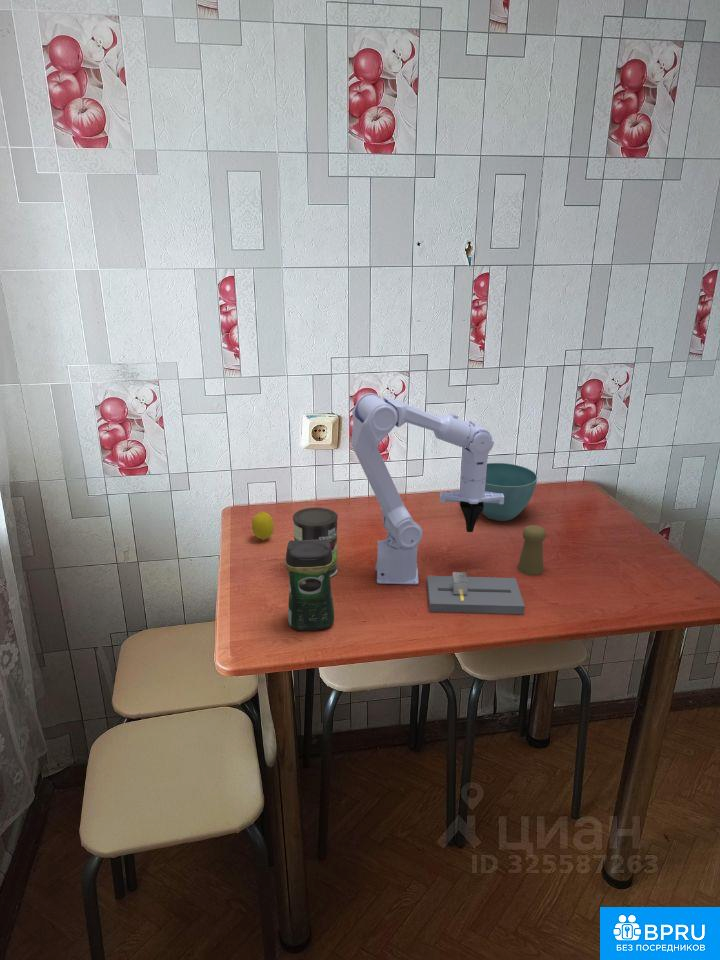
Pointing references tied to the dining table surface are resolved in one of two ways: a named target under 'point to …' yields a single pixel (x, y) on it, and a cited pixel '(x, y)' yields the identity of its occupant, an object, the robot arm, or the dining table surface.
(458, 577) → the fader
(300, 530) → the coffee can
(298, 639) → the dining table surface
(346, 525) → the dining table surface
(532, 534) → the cork
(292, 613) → the coffee jar
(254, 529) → the lemon
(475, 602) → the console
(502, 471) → the teal bowl
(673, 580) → the dining table surface
